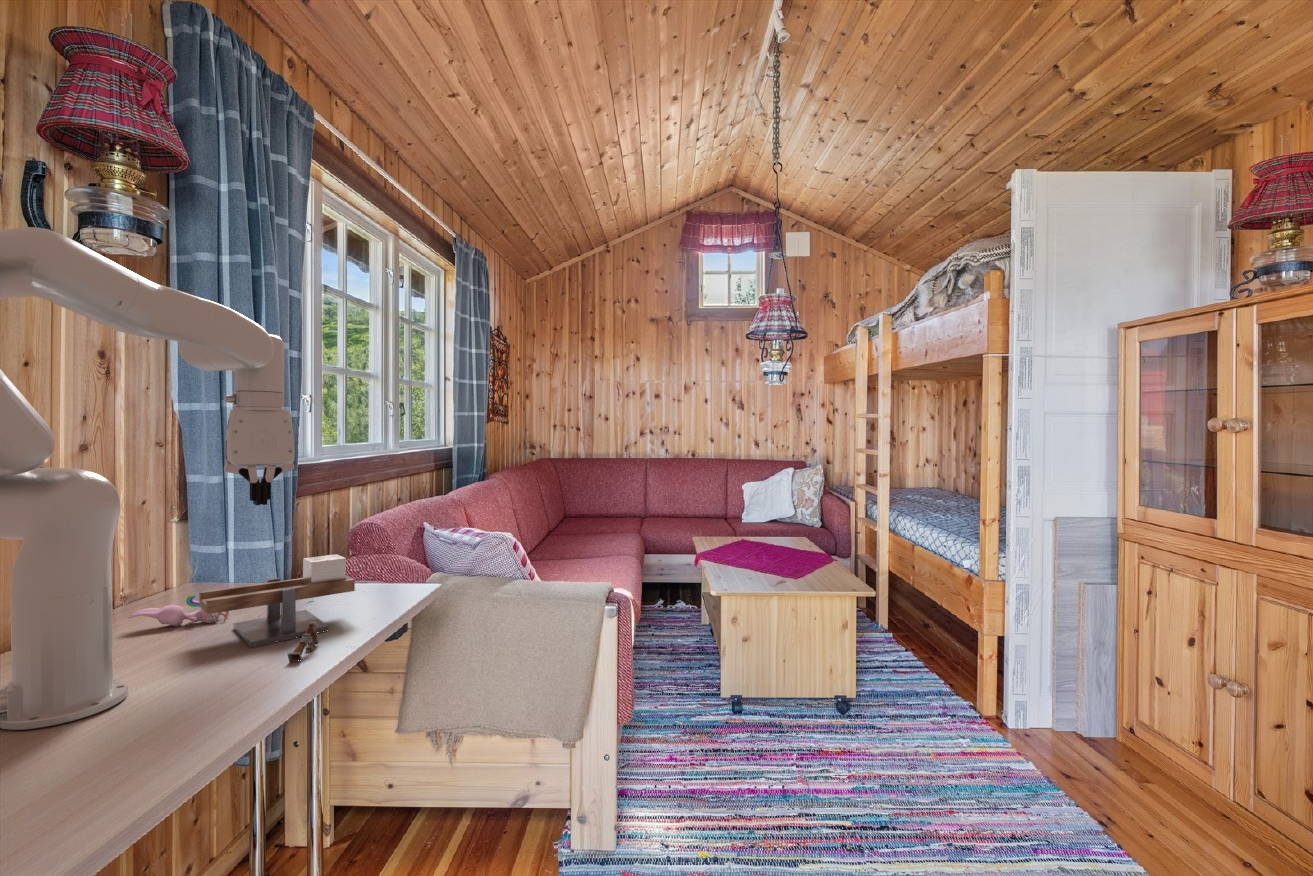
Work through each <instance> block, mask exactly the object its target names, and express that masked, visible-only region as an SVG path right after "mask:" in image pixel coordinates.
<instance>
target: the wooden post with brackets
mask: <svg viewBox="0 0 1313 876" xmlns="http://www.w3.org/2000/svg"><path fill="white" fill-rule="evenodd" d="M316 628H317V622H315V621H314V622H313V623H310V624H309V627H308V628H307V629H308V630H307V632H306V633H305V634H304V635H303V637H301V639H300V641H299V644H298V645H297V646H296V648H295V649H294V650H293V651H292V652H288V653H287V654H286V655H287V658H288V662H289V663H291V662H290V661H298V660H299V661H300V660H301V661H302V662H303V658H302V654H303V652H304V650H305V652H309V653H311V652H313V650H314V649H316V645H319V643H320V640H319V636H318V634H316V630H315V629H316ZM310 640H312V641H310ZM301 661H300V662H301Z"/></svg>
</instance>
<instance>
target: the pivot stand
mask: <svg viewBox="0 0 1313 876" xmlns="http://www.w3.org/2000/svg"><path fill="white" fill-rule="evenodd" d="M276 581H281V578H280V577H273V578H267V579H266V581H265V583H269V582H276ZM296 601H297V600H295V588H294V587H293V588H287V589H281V603H276V604H269V605H266V617H259V618H256V619H251V620H250V619H249V620H244V621H240V622H239V621H238V622H234V623H233V630H234V631H235V632H236V633H237V634H238V635H239V636H240V638H241V639H242V640H243V642H245V641H246V642H245V643H246V644H247V645H248V647H249V648H251V647H253V648H256V647H255V646H257V647H262V646H265V645H264V644H267V645H269V644H268V643H271V644H274V643H273V642H276V641H281V642H284V641H283V640H286V641H288V640H287V639H290V640H293V639H292V638H295V639H297V638H296V637H300V636H303V635H304V634H305V633H306V632H307V630H308V629H307V628H308V627H309V624H310V623H313V622H314V621H315V622H317V628H316V629H315V630H316V633H317V632H323V631H327V630H329V629H330V627H329V625H328V624H327V623H325V622H324V621H323V620H321V619H320V618H318V617H317V616H315V615H314V614H312V612H310V611H308V610H307V609H303V610H299V611H297V610H296V606H297V605H296ZM329 631H330V630H329ZM323 633H324V632H323ZM300 638H301V637H300ZM276 643H277V642H276ZM261 645H262V646H261Z"/></svg>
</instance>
